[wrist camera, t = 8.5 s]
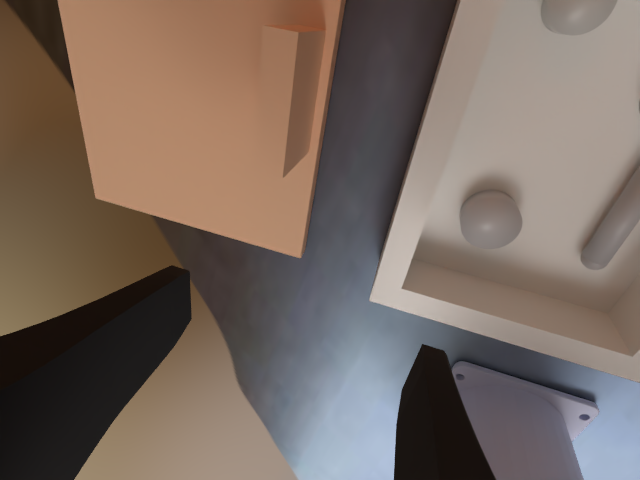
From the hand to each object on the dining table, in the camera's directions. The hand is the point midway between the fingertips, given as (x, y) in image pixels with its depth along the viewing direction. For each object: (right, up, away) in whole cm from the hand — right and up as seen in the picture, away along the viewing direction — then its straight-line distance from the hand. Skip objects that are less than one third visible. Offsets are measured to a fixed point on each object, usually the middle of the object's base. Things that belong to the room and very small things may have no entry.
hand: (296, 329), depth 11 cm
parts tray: (+11, +7, +4) cm, 13 cm away
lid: (-5, +11, +6) cm, 13 cm away
